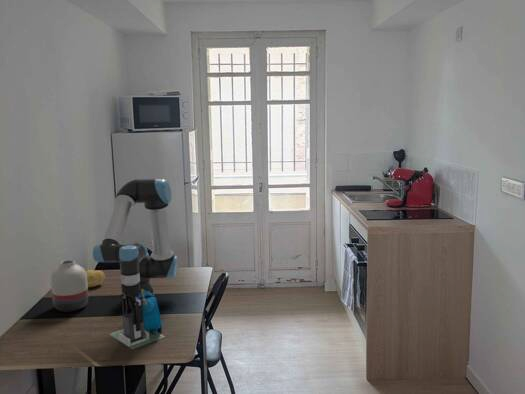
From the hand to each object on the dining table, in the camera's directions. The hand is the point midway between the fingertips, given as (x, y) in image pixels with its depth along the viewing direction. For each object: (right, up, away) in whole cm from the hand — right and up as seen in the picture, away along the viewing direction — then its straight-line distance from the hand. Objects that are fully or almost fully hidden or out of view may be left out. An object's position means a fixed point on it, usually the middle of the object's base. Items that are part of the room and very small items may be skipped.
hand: (134, 335), depth 217 cm
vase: (-41, +3, +40) cm, 58 cm away
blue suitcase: (+5, -1, +11) cm, 12 cm away
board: (0, -2, +5) cm, 5 cm away
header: (0, -2, 0) cm, 2 cm away
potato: (-41, +8, +69) cm, 80 cm away
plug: (0, -1, 0) cm, 1 cm away
